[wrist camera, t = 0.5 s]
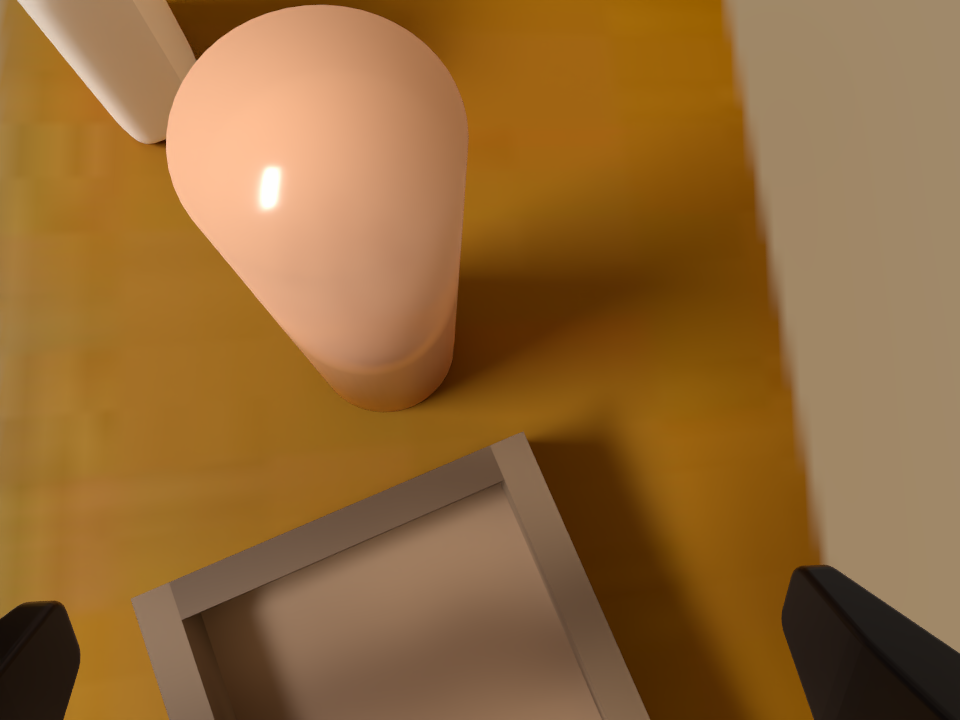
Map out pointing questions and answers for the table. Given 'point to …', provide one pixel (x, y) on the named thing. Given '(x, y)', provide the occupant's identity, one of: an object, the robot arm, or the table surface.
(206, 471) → the table surface
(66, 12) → the eye dropper bottle
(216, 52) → the peach tall rounded piece
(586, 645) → the square wooden tray
